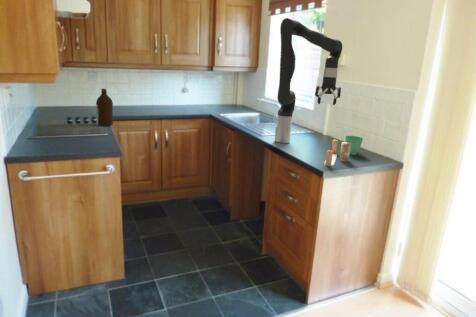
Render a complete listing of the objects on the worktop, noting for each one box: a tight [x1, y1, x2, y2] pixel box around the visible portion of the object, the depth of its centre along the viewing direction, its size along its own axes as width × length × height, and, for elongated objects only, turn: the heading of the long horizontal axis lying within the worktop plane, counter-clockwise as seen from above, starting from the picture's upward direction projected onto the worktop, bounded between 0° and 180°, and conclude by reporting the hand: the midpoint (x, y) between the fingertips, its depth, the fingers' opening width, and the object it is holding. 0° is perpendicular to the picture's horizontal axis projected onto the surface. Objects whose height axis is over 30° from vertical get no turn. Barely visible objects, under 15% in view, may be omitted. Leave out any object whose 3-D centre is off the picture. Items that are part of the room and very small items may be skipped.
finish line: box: [323, 139, 339, 168], centre depth 201 cm, size 5×31×8 cm, turn 160°
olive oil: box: [95, 88, 114, 127], centre depth 249 cm, size 11×11×25 cm
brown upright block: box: [338, 141, 351, 163], centre depth 200 cm, size 5×5×10 cm
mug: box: [345, 135, 364, 156], centre depth 217 cm, size 15×10×10 cm
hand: (326, 104), depth 211 cm, fingers open, 8 cm apart
